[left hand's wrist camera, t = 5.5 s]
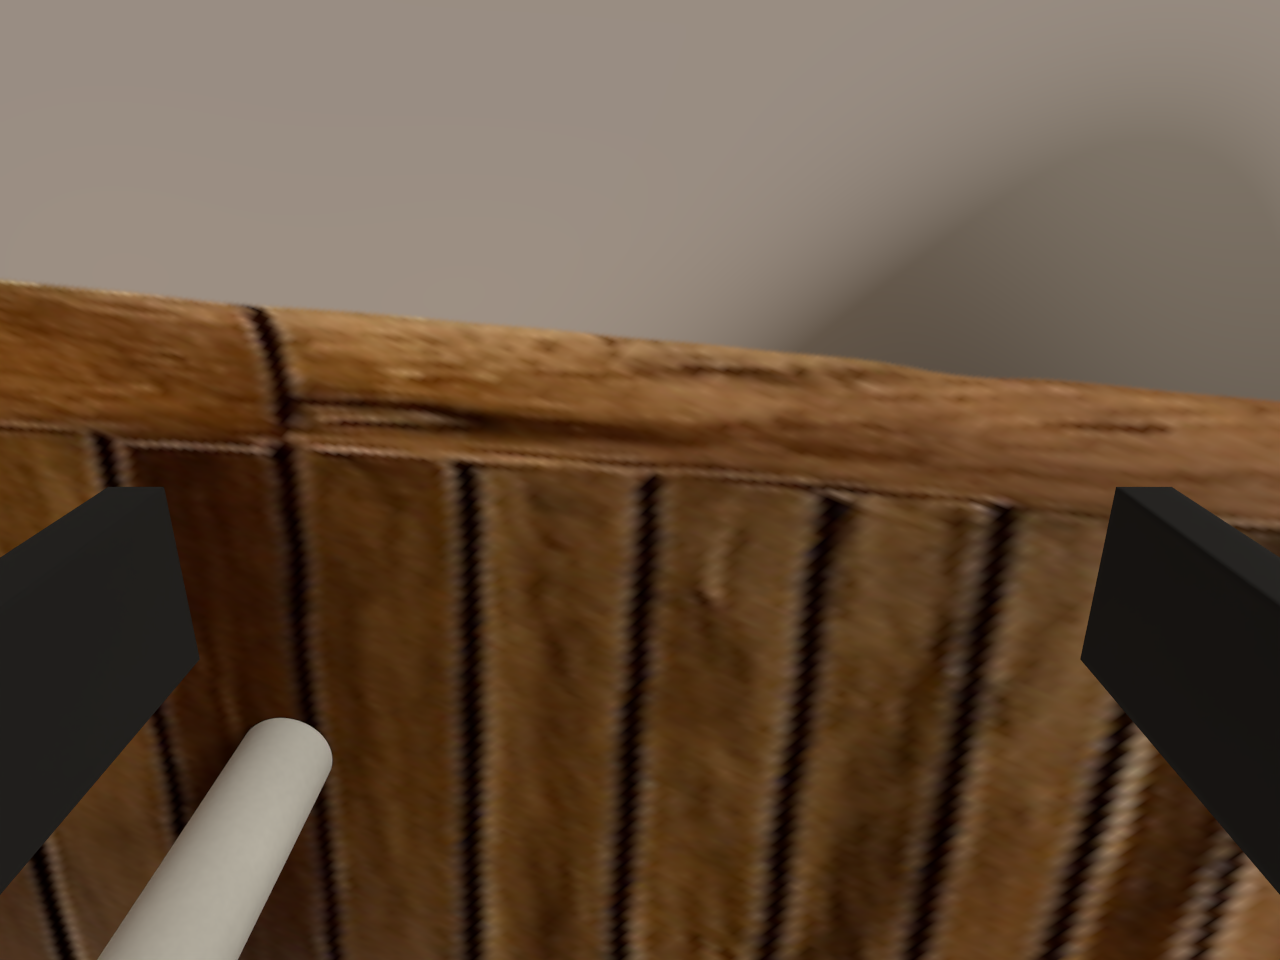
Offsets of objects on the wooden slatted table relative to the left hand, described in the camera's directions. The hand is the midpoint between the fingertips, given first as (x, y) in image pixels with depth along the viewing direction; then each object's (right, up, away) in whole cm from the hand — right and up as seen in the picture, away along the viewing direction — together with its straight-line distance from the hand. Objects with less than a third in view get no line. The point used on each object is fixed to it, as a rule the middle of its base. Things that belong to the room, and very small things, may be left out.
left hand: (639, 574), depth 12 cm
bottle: (-19, -13, +35) cm, 42 cm away
